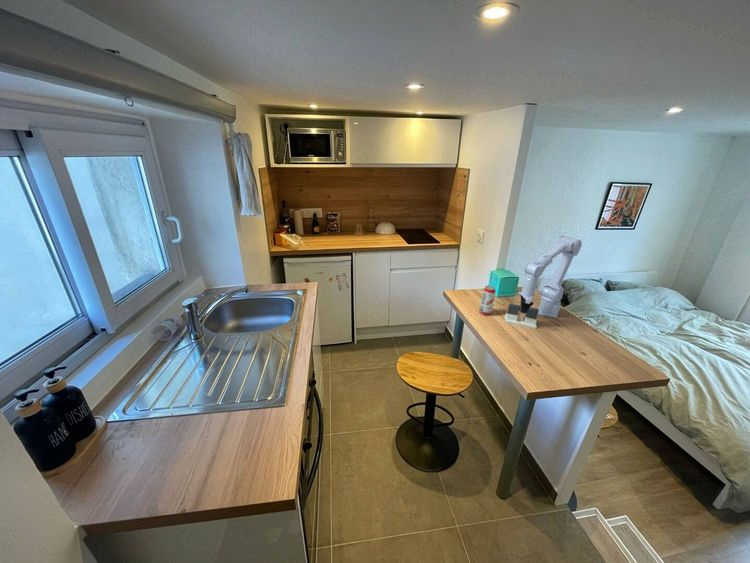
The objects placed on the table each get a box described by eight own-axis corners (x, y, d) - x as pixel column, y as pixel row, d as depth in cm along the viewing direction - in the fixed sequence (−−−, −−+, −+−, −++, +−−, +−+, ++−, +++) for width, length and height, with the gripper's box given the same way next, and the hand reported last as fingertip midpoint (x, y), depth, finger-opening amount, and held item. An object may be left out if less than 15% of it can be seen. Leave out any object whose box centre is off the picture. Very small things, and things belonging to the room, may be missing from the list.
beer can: (476, 311, 163) (481, 286, 157) (485, 309, 166) (490, 284, 159) (484, 316, 158) (490, 291, 152) (493, 314, 161) (498, 289, 154)
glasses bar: (535, 316, 152) (538, 308, 150) (536, 319, 149) (538, 311, 147) (507, 311, 156) (509, 303, 154) (507, 313, 154) (509, 305, 152)
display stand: (534, 320, 155) (537, 311, 153) (536, 328, 149) (539, 318, 146) (504, 315, 160) (507, 305, 158) (505, 322, 154) (507, 312, 151)
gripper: (520, 279, 153) (514, 301, 159) (521, 290, 141) (515, 314, 146) (534, 281, 151) (528, 304, 156) (537, 293, 138) (530, 317, 144)
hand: (523, 309), depth 151 cm, fingers open, 7 cm apart
